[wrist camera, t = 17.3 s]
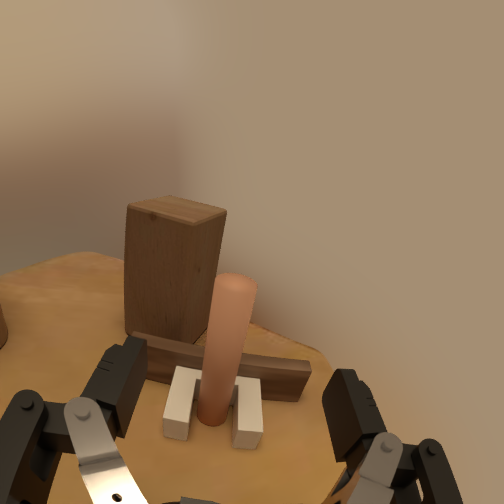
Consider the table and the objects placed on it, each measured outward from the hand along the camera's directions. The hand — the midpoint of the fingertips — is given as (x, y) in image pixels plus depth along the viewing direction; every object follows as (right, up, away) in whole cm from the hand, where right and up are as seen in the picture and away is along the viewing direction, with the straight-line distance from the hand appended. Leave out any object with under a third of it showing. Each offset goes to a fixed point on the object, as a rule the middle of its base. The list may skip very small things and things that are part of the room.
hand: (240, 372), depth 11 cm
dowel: (-4, -14, +18) cm, 23 cm away
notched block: (-4, -14, +18) cm, 23 cm away
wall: (-4, -13, +22) cm, 26 cm away
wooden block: (-13, -8, +31) cm, 35 cm away
